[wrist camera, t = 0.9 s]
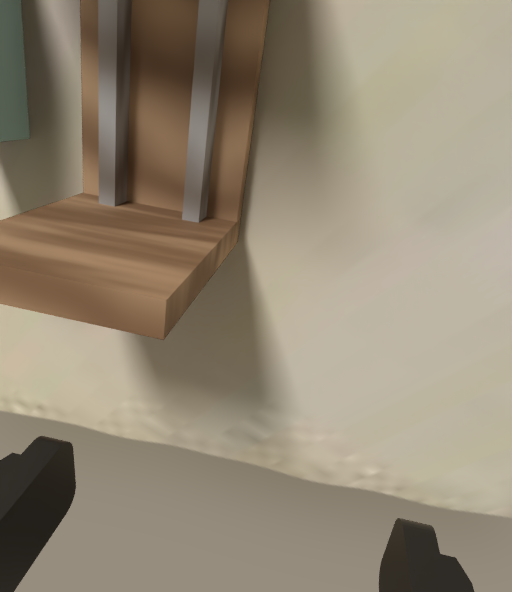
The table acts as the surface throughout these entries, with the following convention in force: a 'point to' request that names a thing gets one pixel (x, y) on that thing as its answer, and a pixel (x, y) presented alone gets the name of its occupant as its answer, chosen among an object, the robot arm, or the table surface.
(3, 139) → the pale teal rectangular block
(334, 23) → the table surface
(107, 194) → the slotted wooden stand
